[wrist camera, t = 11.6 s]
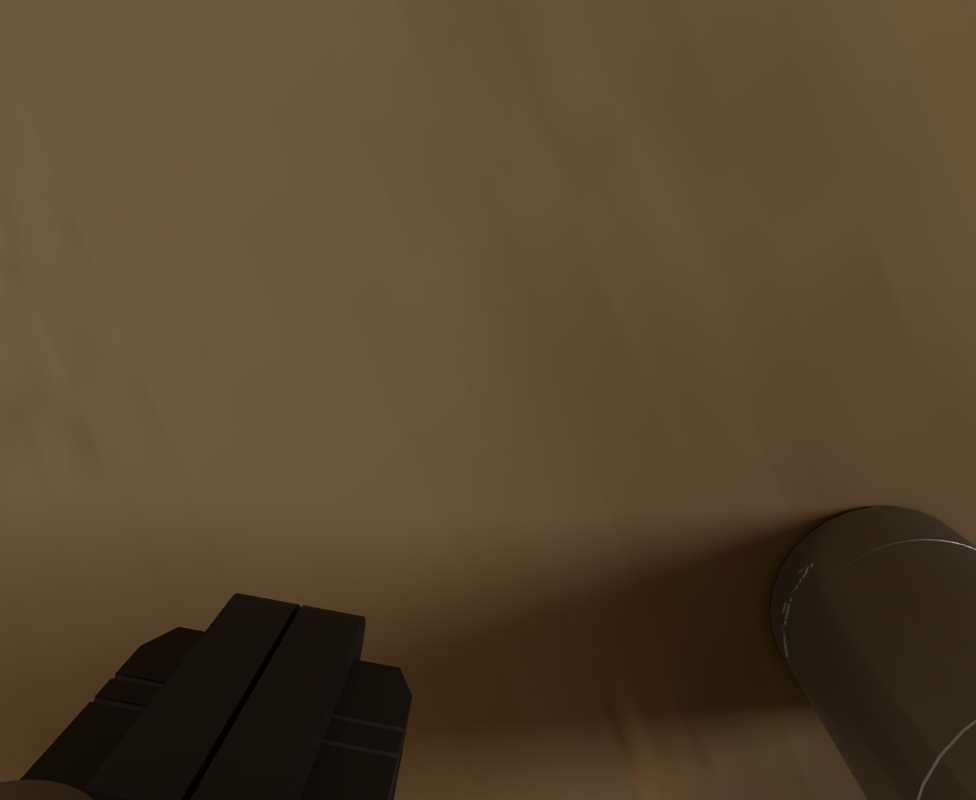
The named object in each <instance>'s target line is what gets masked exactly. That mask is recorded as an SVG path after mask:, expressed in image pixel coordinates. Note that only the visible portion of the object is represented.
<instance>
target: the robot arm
mask: <svg viewBox="0 0 976 800" xmlns="http://www.w3.org/2000/svg"><path fill="white" fill-rule="evenodd" d="M770 611H771V624H772V630H773V633H774V636H775V639H776V642H777V646H778V648H779V650H780V651H781V653H782V655H783V657H784V658H785V660H786V662H787V663H788V665H789V667H790V668H791V670H792V672H793V674H794V675H795V677H796V679H797V680H798V682H799V684H800V686H801V687H802V689H803V691H804V692H805V694H806V696H807V698H808V700H809V702H810V703H811V705H812V707H813V709H814V710H815V712H816V714H817V715H818V717H819V719H820V720H821V722H822V724H823V725H824V727H825V729H826V730H827V732H828V734H829V735H830V737H831V739H832V741H833V742H834V744H835V746H836V747H837V749H838V751H839V752H840V754H841V756H842V757H843V759H844V761H845V762H846V764H847V766H848V767H849V769H850V771H851V773H852V774H853V776H854V778H855V779H856V781H857V783H858V784H859V786H860V788H861V789H862V791H863V793H864V794H865V796H866V798H867V799H868V800H976V546H975V545H974V544H972V543H971V542H969V541H968V540H966V539H965V538H964V537H962V536H961V535H959V534H958V533H957V532H955V531H954V530H952V529H951V528H950V527H948V526H947V525H945V524H944V523H943V522H941V521H940V520H938V519H936V518H933V517H931V516H929V515H926V514H924V513H922V512H919V511H916V510H911V509H905V508H900V507H870V508H865V509H860V510H855V511H850V512H848V513H845V514H843V515H840V516H838V517H836V518H833V519H831V520H828V521H827V522H825V523H824V524H822V525H821V526H819V527H818V528H816V529H815V530H813V531H812V532H810V533H809V534H808V535H807V536H806V537H805V538H804V539H803V540H802V541H801V542H800V543H799V544H798V545H797V546H796V547H795V548H794V549H793V550H792V552H791V553H790V555H789V556H788V558H787V559H786V561H785V562H784V564H783V565H782V567H781V569H780V572H779V574H778V577H777V579H776V582H775V584H774V587H773V593H772V600H771V606H770ZM364 631H365V617H364V616H358V615H353V614H348V613H342V612H337V611H331V610H326V609H321V608H315V607H310V606H305V605H304V606H302V607H301V608H300V606H299V605H298V604H293V603H287V602H282V601H277V600H271V599H266V598H261V597H255V596H250V595H245V594H239V593H236V594H235V595H234V596H233V597H232V598H231V599H230V600H229V602H228V603H227V604H226V605H225V607H224V608H223V609H222V611H221V612H220V613H219V615H218V616H217V617H216V618H215V620H214V621H213V622H212V624H211V625H210V626H209V627H208V629H207V630H206V631H205V632H203V631H198V630H192V629H187V628H182V627H178V628H176V629H174V630H172V631H170V632H168V633H166V634H164V635H162V636H160V637H158V638H155V639H153V640H151V641H149V642H147V643H145V644H143V645H141V646H140V647H139V648H138V649H137V650H136V651H135V652H134V654H133V655H132V656H131V657H130V658H129V659H128V660H127V661H126V662H125V664H124V665H123V666H122V667H121V668H120V669H119V670H118V671H117V672H116V676H115V678H114V679H112V678H111V679H110V680H109V681H108V682H107V684H106V685H105V686H104V687H103V688H102V689H101V690H100V691H99V692H98V694H97V695H96V696H95V700H94V702H89V704H88V705H87V706H86V707H85V708H84V709H83V710H82V711H81V712H80V714H79V715H78V716H77V717H76V718H75V719H74V720H73V721H72V722H71V724H70V725H69V726H68V727H67V728H66V729H65V730H64V731H63V732H62V734H61V735H60V736H59V737H58V738H57V739H56V740H55V741H54V742H53V744H52V745H51V746H50V747H49V748H48V749H47V750H46V751H45V752H44V754H43V755H42V756H41V757H40V758H39V759H38V760H37V761H36V762H35V764H34V765H33V766H32V767H31V768H30V769H29V770H28V771H27V772H26V774H25V775H24V776H23V777H22V778H21V779H20V780H13V781H6V782H0V800H394V795H395V790H396V784H397V778H398V773H399V767H400V761H401V756H402V750H403V745H404V739H405V733H406V728H407V722H408V716H409V711H410V705H411V700H412V695H411V693H410V691H409V688H408V686H407V684H406V681H405V679H404V677H403V674H402V672H401V670H400V668H397V667H392V666H387V665H381V664H376V663H371V662H365V661H360V657H361V651H362V645H363V638H364Z"/></svg>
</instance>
